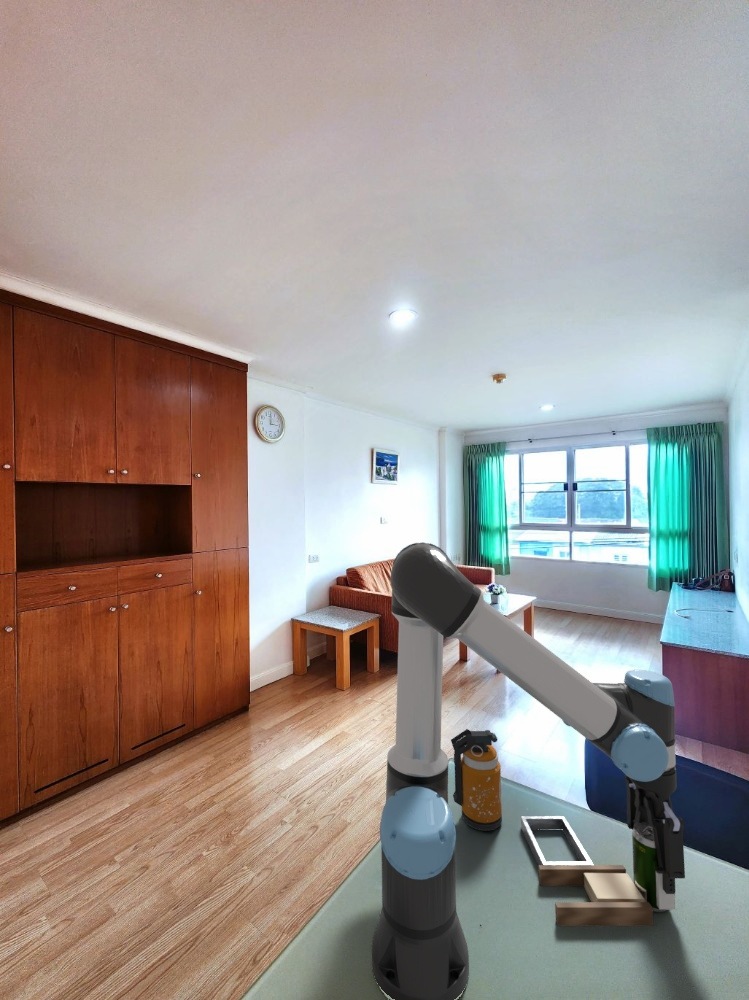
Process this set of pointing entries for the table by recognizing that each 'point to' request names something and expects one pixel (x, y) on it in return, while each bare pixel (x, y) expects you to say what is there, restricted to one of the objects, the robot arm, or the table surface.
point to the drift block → (611, 888)
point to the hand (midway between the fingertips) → (655, 892)
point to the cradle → (552, 823)
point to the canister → (478, 779)
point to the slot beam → (592, 910)
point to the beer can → (645, 863)
